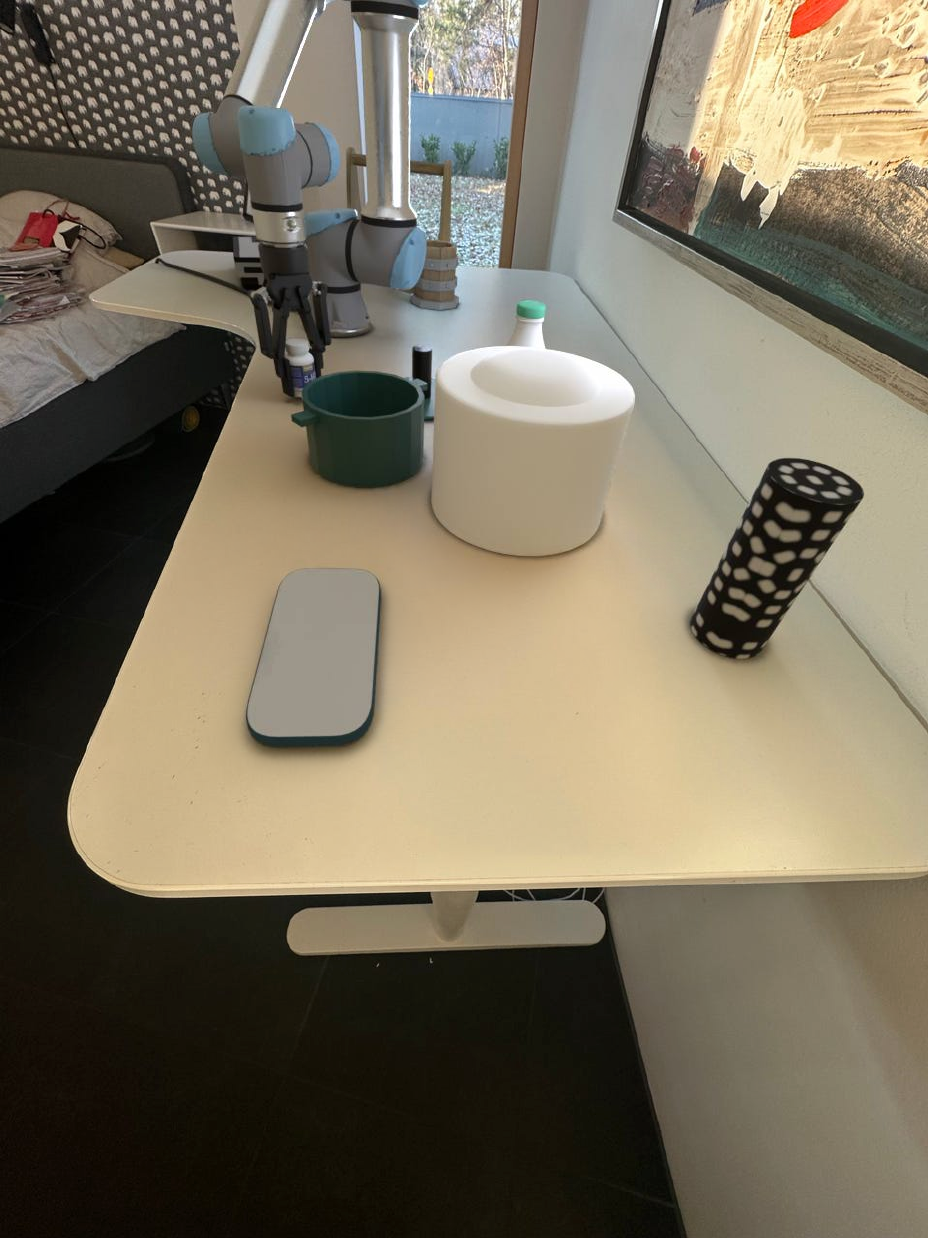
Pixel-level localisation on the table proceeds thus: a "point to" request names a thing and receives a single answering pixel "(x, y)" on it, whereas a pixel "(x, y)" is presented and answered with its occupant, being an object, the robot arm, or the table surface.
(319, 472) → the pot
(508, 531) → the container
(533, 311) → the milk bottle
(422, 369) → the lid
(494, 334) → the table surface
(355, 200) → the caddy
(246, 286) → the game console
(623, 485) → the table surface
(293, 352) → the pill bottle
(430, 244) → the tankard
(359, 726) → the external hard drive
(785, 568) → the white-spotted black cylinder
